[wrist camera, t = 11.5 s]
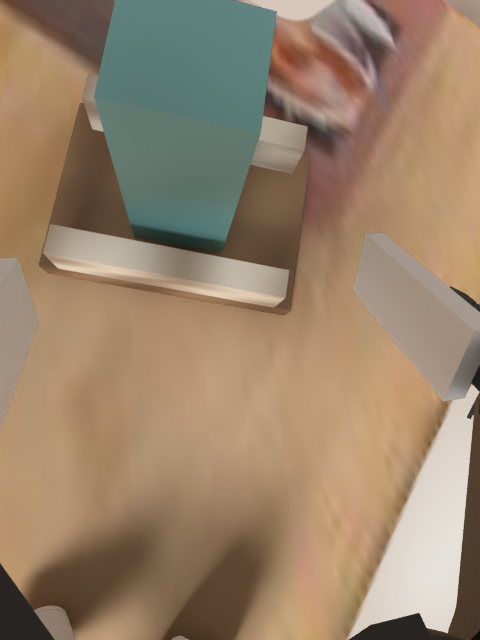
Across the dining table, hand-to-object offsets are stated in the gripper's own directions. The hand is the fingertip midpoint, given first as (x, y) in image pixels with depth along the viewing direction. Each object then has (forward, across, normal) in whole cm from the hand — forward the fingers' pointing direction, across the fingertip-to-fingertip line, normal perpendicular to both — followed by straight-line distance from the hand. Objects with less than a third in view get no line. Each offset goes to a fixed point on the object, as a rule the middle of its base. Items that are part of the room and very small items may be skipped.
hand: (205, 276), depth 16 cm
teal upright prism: (+9, 0, 0) cm, 9 cm away
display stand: (+10, 0, -2) cm, 10 cm away
